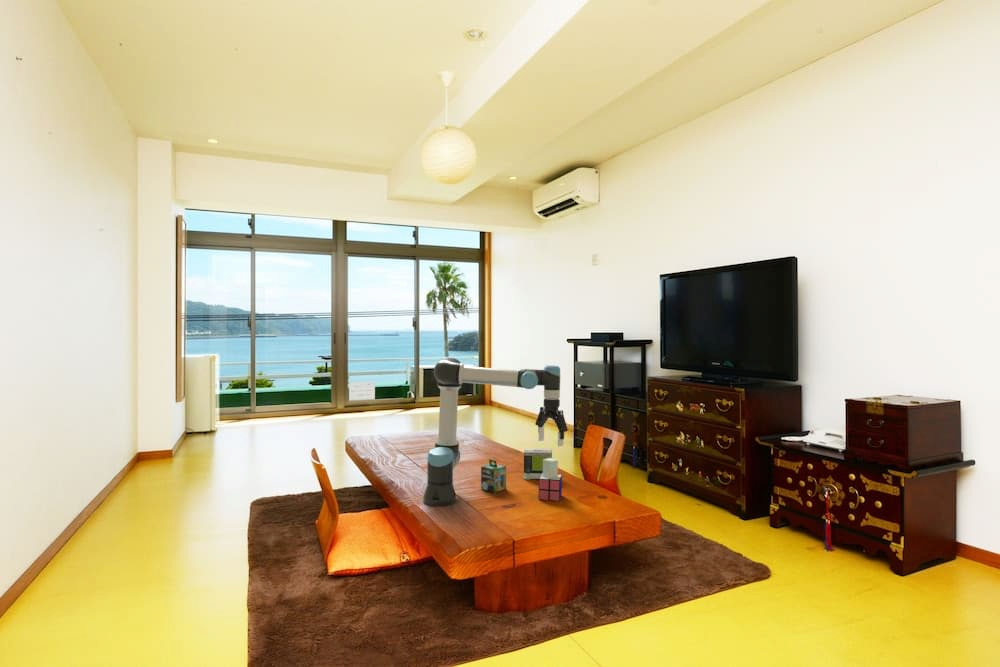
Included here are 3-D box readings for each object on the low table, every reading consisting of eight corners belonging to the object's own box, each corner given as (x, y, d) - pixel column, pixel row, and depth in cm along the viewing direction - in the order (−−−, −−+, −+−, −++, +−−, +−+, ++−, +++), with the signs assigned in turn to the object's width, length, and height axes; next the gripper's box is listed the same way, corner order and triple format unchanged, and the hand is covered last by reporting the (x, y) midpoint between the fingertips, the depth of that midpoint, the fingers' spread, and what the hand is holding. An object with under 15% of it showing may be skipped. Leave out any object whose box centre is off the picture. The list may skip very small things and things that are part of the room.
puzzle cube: (559, 501, 252) (560, 480, 252) (538, 500, 254) (538, 478, 254) (561, 495, 262) (562, 474, 262) (541, 493, 264) (541, 473, 264)
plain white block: (549, 478, 255) (550, 461, 254) (542, 476, 259) (542, 459, 258) (557, 477, 258) (557, 460, 257) (550, 474, 262) (550, 458, 261)
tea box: (551, 475, 296) (552, 448, 296) (551, 481, 286) (552, 452, 286) (524, 474, 297) (524, 447, 297) (523, 479, 287) (523, 451, 287)
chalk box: (506, 489, 270) (507, 459, 269) (493, 493, 263) (494, 462, 263) (493, 485, 276) (493, 456, 276) (480, 489, 269) (480, 459, 269)
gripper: (576, 401, 250) (574, 447, 250) (540, 394, 270) (539, 437, 270) (564, 402, 245) (562, 449, 246) (528, 395, 265) (527, 439, 266)
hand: (550, 443), depth 258 cm, fingers open, 13 cm apart
